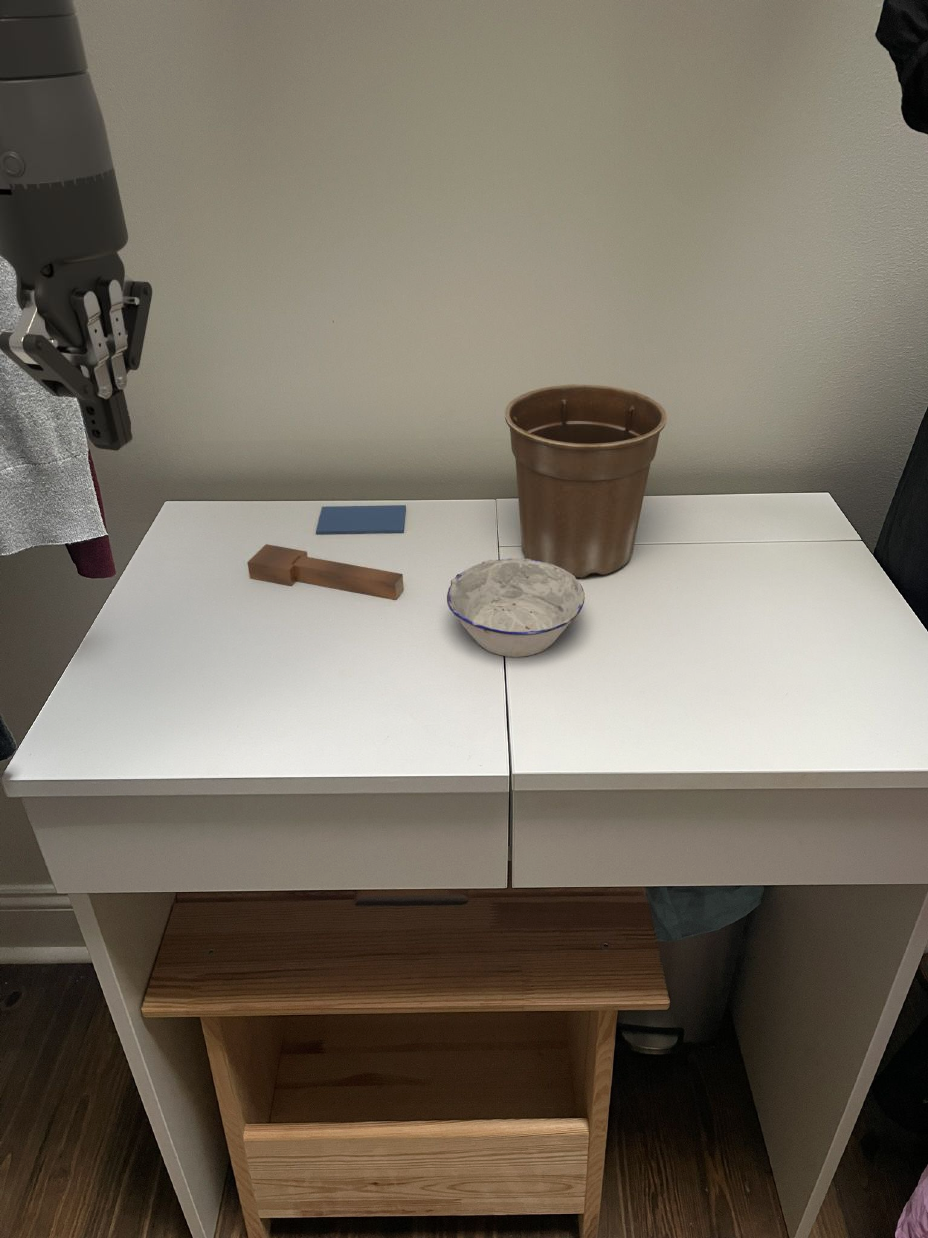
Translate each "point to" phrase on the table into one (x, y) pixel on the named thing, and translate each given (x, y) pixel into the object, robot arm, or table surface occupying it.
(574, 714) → the table surface
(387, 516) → the cloth
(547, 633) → the bowl
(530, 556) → the plant pot
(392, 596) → the wooden mallet
